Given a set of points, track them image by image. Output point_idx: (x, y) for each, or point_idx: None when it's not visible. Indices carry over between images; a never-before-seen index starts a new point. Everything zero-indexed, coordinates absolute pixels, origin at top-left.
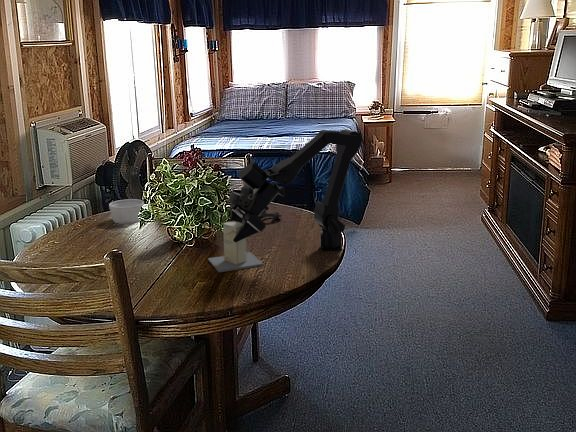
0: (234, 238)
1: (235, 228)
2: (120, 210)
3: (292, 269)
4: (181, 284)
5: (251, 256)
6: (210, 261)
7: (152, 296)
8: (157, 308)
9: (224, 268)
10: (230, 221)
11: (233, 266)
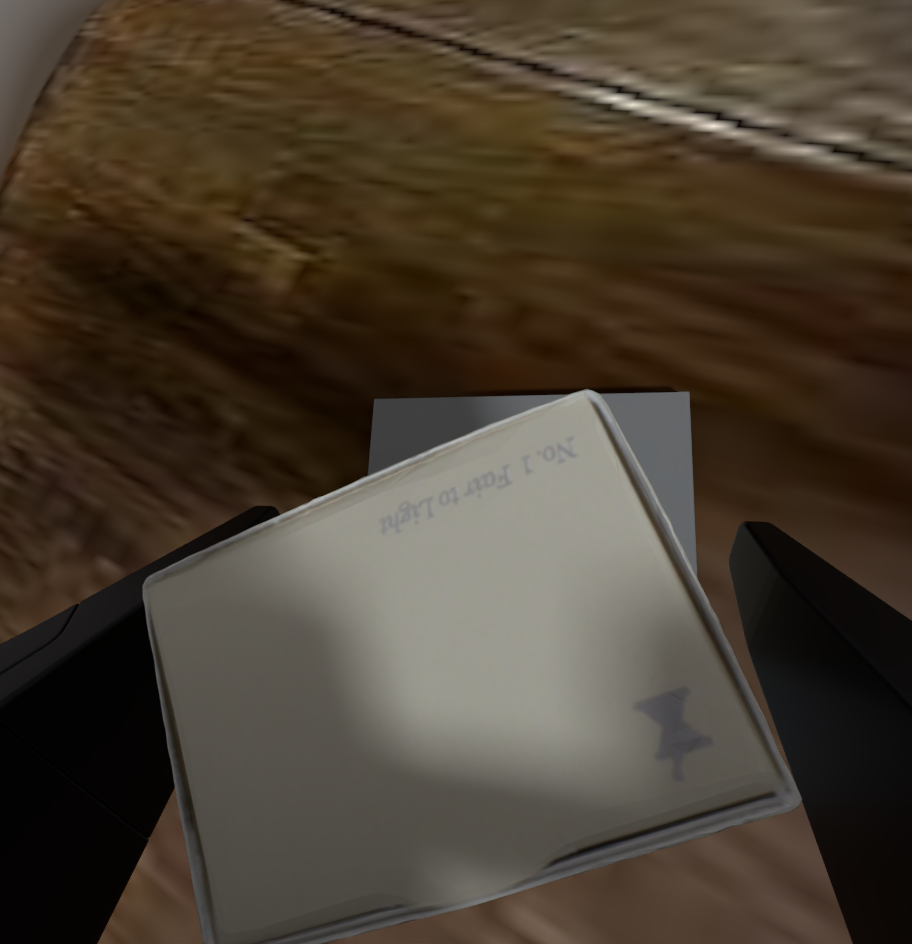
0: (232, 519)
1: (178, 573)
2: None
3: (162, 936)
4: (317, 165)
5: None
6: (606, 394)
7: (250, 32)
8: (124, 55)
9: (394, 447)
10: (734, 671)
11: None
